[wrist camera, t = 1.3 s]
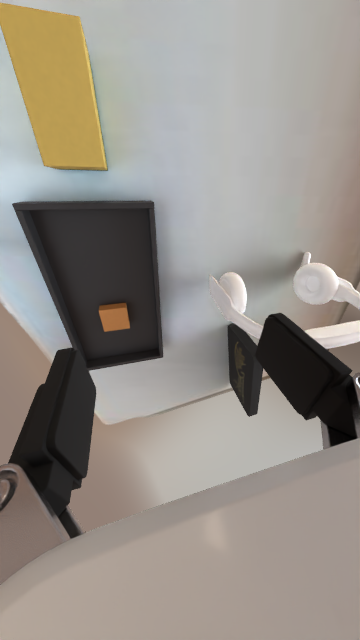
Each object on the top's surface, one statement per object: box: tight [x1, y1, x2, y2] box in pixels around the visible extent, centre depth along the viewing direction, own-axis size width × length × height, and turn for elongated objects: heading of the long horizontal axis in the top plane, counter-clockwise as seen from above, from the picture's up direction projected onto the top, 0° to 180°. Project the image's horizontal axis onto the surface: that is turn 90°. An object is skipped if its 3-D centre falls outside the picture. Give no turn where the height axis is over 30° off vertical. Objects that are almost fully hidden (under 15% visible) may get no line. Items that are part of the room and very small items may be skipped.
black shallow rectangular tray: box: [12, 201, 163, 371], centre depth 29 cm, size 25×14×3 cm, turn 0°
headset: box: [209, 252, 360, 349], centre depth 27 cm, size 20×7×18 cm, turn 91°
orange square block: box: [99, 303, 130, 332], centre depth 31 cm, size 4×4×2 cm
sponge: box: [0, 3, 108, 171], centre depth 17 cm, size 8×5×5 cm, turn 0°
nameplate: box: [228, 324, 263, 417], centre depth 42 cm, size 21×2×10 cm, turn 11°
